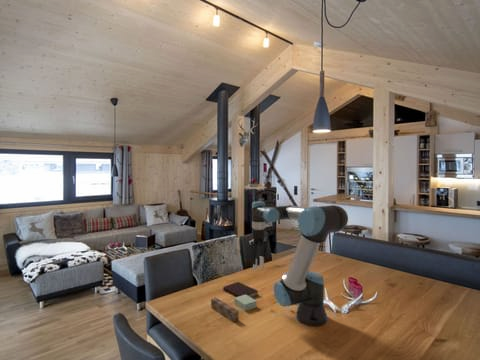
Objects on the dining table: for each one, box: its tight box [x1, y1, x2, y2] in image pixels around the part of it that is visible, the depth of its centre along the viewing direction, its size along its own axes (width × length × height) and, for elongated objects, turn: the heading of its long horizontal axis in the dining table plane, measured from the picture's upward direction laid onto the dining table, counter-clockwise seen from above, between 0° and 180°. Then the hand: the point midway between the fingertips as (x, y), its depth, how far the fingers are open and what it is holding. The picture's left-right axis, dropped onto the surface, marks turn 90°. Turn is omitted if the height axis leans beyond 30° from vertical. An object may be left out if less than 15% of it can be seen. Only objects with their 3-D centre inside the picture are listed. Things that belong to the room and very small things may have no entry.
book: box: [222, 281, 259, 298], centre depth 181 cm, size 13×19×3 cm, turn 39°
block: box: [233, 295, 257, 312], centre depth 163 cm, size 10×8×4 cm
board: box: [210, 297, 240, 323], centre depth 154 cm, size 20×3×5 cm, turn 40°
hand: (258, 268), depth 169 cm, fingers open, 4 cm apart
